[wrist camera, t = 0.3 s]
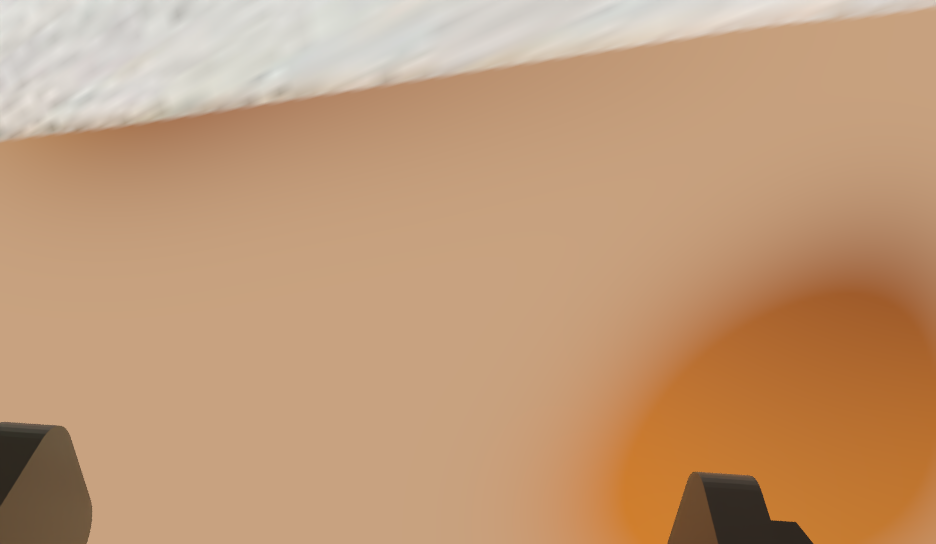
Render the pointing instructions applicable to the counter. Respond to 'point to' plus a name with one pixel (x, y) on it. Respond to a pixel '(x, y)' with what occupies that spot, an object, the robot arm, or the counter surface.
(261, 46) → the counter surface
